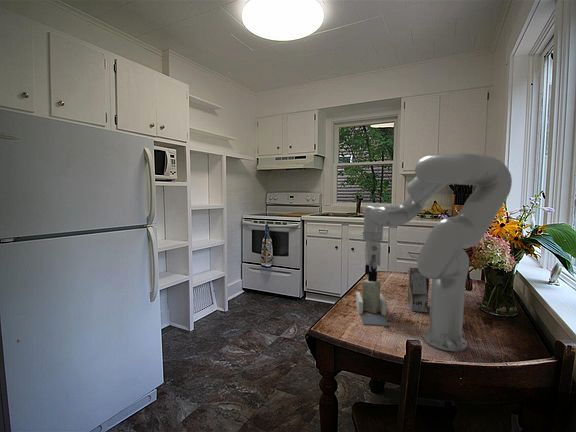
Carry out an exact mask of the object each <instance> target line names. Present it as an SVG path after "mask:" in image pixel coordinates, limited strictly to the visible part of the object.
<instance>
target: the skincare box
mask: <svg viewBox="0 0 576 432" xmlns="http://www.w3.org/2000/svg"><path fill="white" fill-rule="evenodd" d="M380 293H381V281H378V280H377V281H376V282H372V281H368V278H366V279H364V280H361V298H362V300H363V311H365V312H369V313H373V314H377V313H378V312H380Z"/></svg>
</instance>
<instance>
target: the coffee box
mask: <svg viewBox="0 0 576 432" xmlns="http://www.w3.org/2000/svg"><path fill="white" fill-rule="evenodd" d="M407 286H408V287H407V288H408V289H407V305H408V307H409V309H410V310H411V312H412V311H413V312H421V313H428V309H429V308H428V305H429V304H428V303H429V289H430V288H429V287H430V279H428V278H426V277H424V276H423V275H422V274H421V273H420V272H419V270H418V267H408V284H407Z"/></svg>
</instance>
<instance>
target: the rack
mask: <svg viewBox="0 0 576 432" xmlns="http://www.w3.org/2000/svg"><path fill="white" fill-rule="evenodd" d="M387 304H388V303H387V302H386V300H385V297H384V296H383V294H382V293H381V292H380V311H379V312H380V315H385V317H386V316H387ZM355 305H356V309H357V313H358V315H361V314H364V313H363V311H364V310H363V300H362V294H361V292H360V291H355Z"/></svg>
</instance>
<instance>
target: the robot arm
mask: <svg viewBox="0 0 576 432" xmlns="http://www.w3.org/2000/svg"><path fill="white" fill-rule="evenodd" d="M414 173H415V177H414V178H413V179H412V180H411V181H409V182H408V183H407V185H406V191H407V193H408V196H409V197H408V198H407V199H406V200H404V201H403V202H402V203H401V204H400V205H389V206H388V205H387V206H382V205H375V204H374V205H373V204H369V205H366V206H365V207H364V213H363V214H364V216H363V218H364V219H363V237H362V240H364V241H365V248H364V249H365V250H364V261H365V264H364V266H365V268H364V270H365V271H364V273H365V275H367V276H368V277H367V279H368V281H372V282H376V281H378V267H379V266H381V242H382V241H383V237H384V235H383V233H384V227H395V226H404V225H406V224H408V223H409V222H410V221H412V220H413V219H415V218H416V217H417V216H418V215H419V214H420V213H421V212H422V211H423V209H424V208H425V205H426V203H427V201H429V200H430V199H431V198H432V197H433V196H435V195H436V194H437V193H438V192H439V191H441V190H442V189H443V188H444V187H445V186H447V185H450V184H451V185H460V186H461V185H464V186H465V185H466V186H476V188H475V189H474V191H473V192H471V194H470V195H469V197H467V199H466V201H465V202H464V205H463V206H462V208H461V210H460V211H459V213H458V214H457V215H456V216H448V217H445V218H443V219H441V220H439V221H437V223H436V224H435V225H434V226H433V227H432V229H431V231H430V233H429V235H428V236H427V237H426V240H425V242H424V243H423V245H422V247H421V249H420V251H419V253H418V255H417V259H416V266H417V267H416V268H418V270H419V272H420V273H421V274H422V275H423V276H424V277H426V278H428V279H429V280H432V281H431V284H430V285H431V287H430V301H429V302H430V303H429V325H428V330H427V331H425V332H424V333H423V337H422V338H423V340H424V341H425V343H427V344H428V345H430V346H432V347H433V348H436V349H439V350H443V351H448V352H463V351H465V350H466V349H467V348H468V343H467V340H466V339H465V338H463V324H464V310H465V309H464V308H465V307H464V306H465V291H466V290H465V289H466V283H467V278H468V274H469V270H470V269H469V268H470V257H469V255H468V253H467V252H466V250H464V249H468V248H473V247H475V246H476V245H478V244H479V243H481V241H482V239H483V237H484V236H485V234H486V232H487V231H488V230H489V228H490V226H491V224H492V223H493V221H494V220H495V218H496V216H497V215H498V213H499V211H500V210H501V209H502V207H503V205H504V203H505V202H506V200H507V199H508V197H509V195H510V192H511V190H512V186H513V185H512V184H513V183H512V182H513V179H512V174H511V171H510V170H509V168H508V167H507V165H506V164H505V163H504V162H502V161H501V160H499V159H498V158H496V157H493V156H489V155H484V154H483V155H481V154H474V153H448V154H446V153H445V154H443V153H442V154H427V155H425V156H423V157H422V158H420V159H419V160H418V161H417V163H416V164H415V167H414Z"/></svg>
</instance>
